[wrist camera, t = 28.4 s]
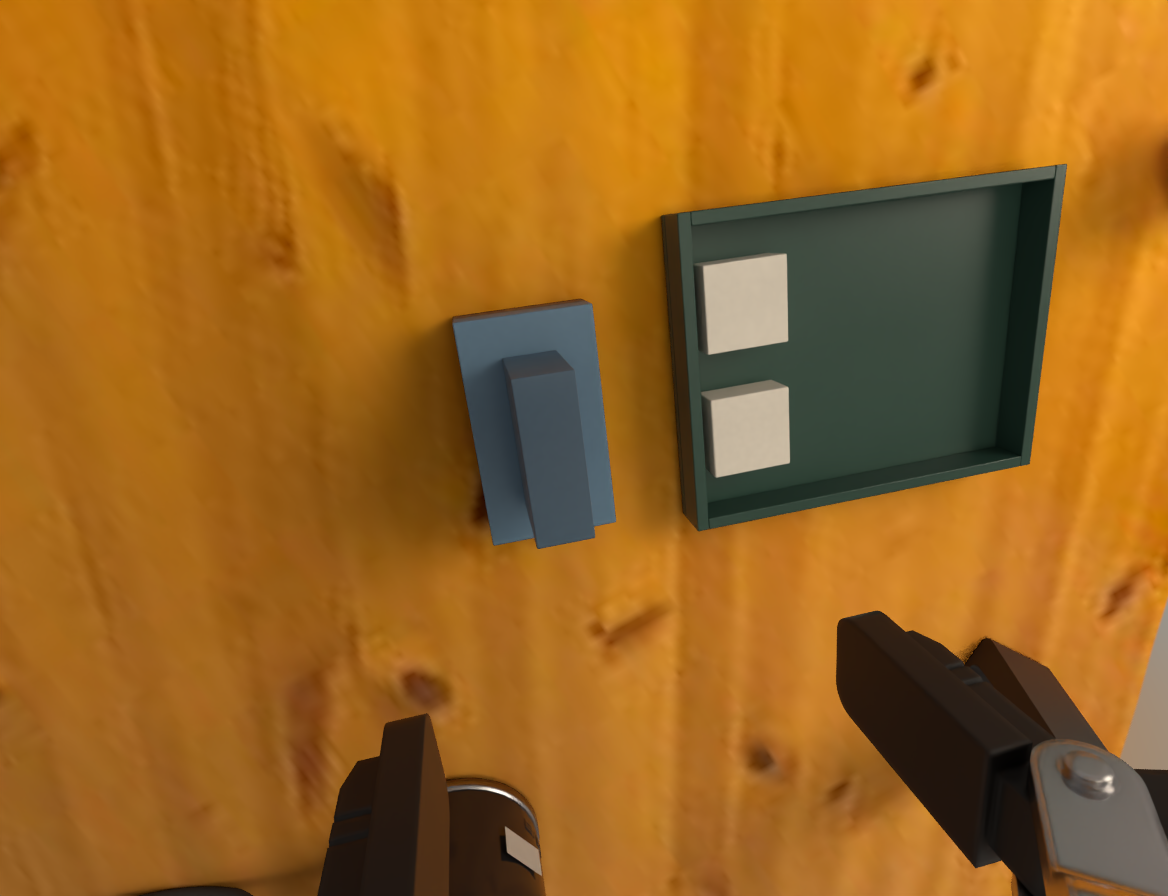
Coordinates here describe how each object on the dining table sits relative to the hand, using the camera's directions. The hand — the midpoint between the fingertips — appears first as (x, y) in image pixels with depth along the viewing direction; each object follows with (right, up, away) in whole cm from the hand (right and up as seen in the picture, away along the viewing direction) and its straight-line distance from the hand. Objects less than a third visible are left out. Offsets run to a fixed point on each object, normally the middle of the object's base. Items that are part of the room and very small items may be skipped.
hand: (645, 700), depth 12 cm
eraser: (-4, +6, +19) cm, 20 cm away
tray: (+13, +10, +21) cm, 26 cm away
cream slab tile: (+6, +12, +18) cm, 23 cm away
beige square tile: (+7, +6, +20) cm, 22 cm away
